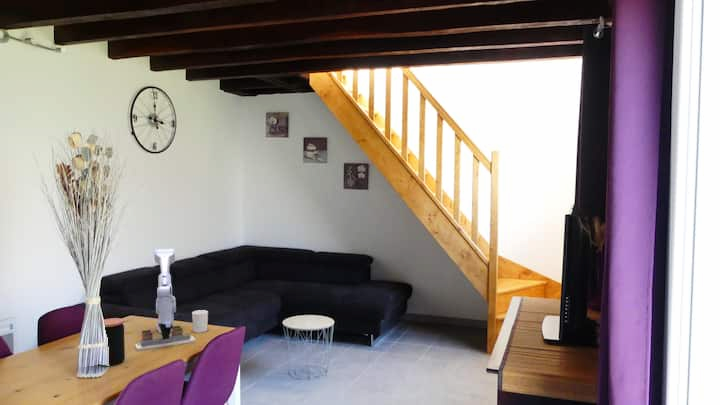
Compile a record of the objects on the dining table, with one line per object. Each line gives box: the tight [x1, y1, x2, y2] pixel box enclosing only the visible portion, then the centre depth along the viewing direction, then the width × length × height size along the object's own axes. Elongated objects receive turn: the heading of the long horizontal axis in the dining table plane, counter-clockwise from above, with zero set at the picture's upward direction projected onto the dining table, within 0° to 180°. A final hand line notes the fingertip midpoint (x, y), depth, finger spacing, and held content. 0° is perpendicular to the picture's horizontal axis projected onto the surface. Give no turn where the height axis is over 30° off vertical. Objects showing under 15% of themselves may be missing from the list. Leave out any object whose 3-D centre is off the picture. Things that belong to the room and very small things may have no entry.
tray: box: [134, 335, 196, 352], centre depth 253 cm, size 7×26×1 cm, turn 121°
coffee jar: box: [103, 317, 126, 367], centre depth 228 cm, size 11×11×18 cm
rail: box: [140, 333, 191, 347], centre depth 252 cm, size 3×22×3 cm
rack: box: [140, 324, 184, 342], centre depth 260 cm, size 6×19×5 cm, turn 121°
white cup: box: [191, 309, 209, 334], centre depth 275 cm, size 8×8×10 cm
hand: (165, 339), depth 252 cm, fingers closed
